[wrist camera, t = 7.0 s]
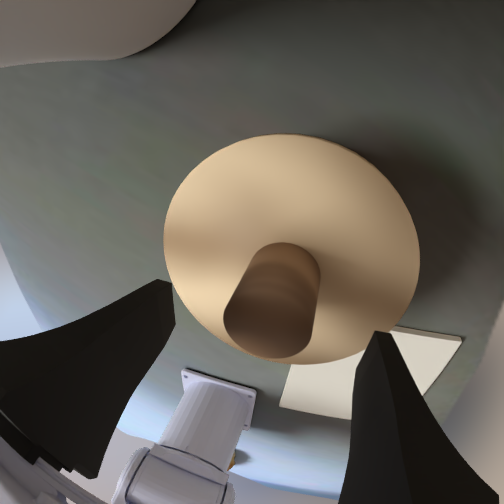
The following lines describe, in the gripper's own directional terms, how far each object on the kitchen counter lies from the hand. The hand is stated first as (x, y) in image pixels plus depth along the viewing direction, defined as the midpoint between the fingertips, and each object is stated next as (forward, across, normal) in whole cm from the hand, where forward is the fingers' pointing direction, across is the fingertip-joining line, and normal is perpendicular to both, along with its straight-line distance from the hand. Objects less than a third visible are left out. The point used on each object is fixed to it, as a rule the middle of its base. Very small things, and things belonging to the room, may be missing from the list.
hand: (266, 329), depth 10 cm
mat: (+10, -8, +13) cm, 18 cm away
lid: (+4, 0, 0) cm, 5 cm away
